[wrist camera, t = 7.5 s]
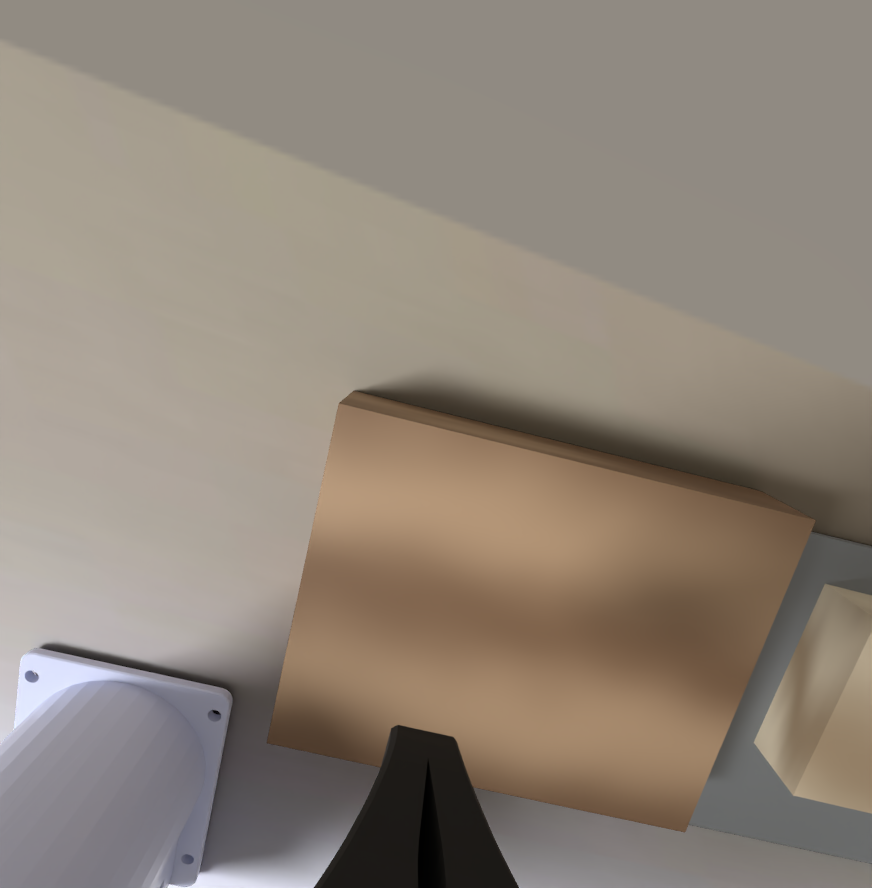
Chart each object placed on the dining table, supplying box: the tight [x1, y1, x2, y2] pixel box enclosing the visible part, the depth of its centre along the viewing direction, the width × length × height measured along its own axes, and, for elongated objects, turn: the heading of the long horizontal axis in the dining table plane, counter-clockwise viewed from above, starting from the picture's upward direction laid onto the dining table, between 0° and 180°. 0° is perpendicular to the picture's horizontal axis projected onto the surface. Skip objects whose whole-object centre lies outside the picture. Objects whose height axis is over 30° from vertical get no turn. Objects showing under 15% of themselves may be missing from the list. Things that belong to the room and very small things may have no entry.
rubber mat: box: [688, 531, 872, 864], centre depth 22 cm, size 13×12×1 cm
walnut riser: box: [267, 391, 816, 832], centre depth 20 cm, size 12×15×3 cm
